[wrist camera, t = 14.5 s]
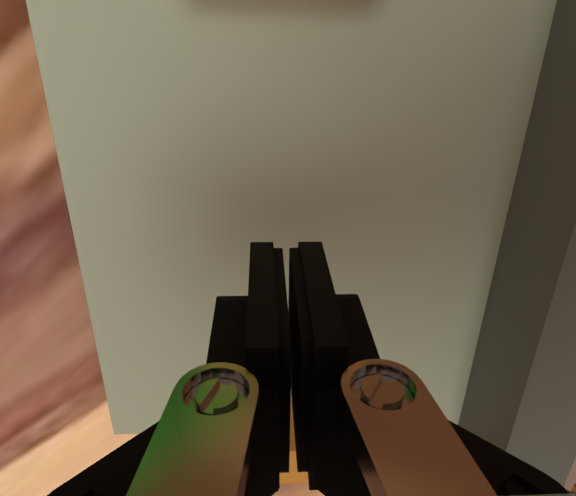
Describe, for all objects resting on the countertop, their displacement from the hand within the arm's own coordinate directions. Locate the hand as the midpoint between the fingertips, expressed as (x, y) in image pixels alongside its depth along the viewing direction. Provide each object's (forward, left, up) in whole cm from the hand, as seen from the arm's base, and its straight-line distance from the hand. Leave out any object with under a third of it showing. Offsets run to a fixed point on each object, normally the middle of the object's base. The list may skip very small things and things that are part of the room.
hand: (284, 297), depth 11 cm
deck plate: (-2, +2, -10) cm, 10 cm away
